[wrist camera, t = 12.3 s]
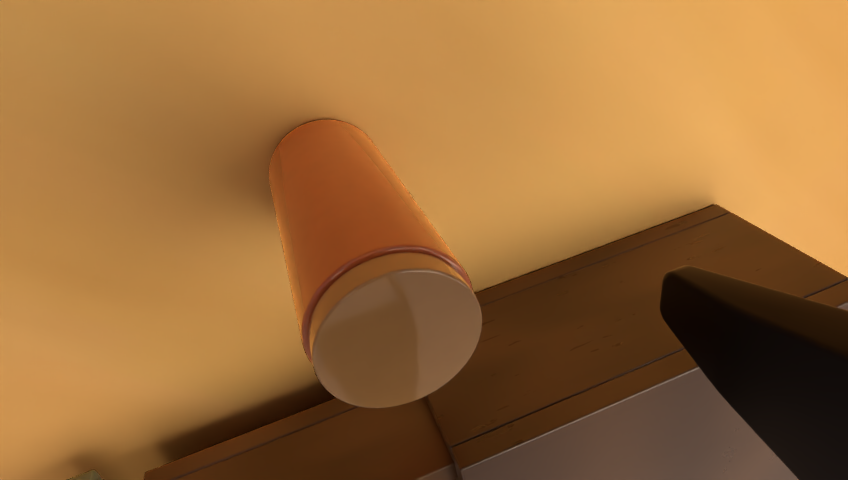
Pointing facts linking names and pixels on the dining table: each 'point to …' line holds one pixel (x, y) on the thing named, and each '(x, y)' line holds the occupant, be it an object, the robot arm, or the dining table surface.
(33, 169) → the dining table surface
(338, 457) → the drawer
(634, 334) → the cabinet
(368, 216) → the spice jar
